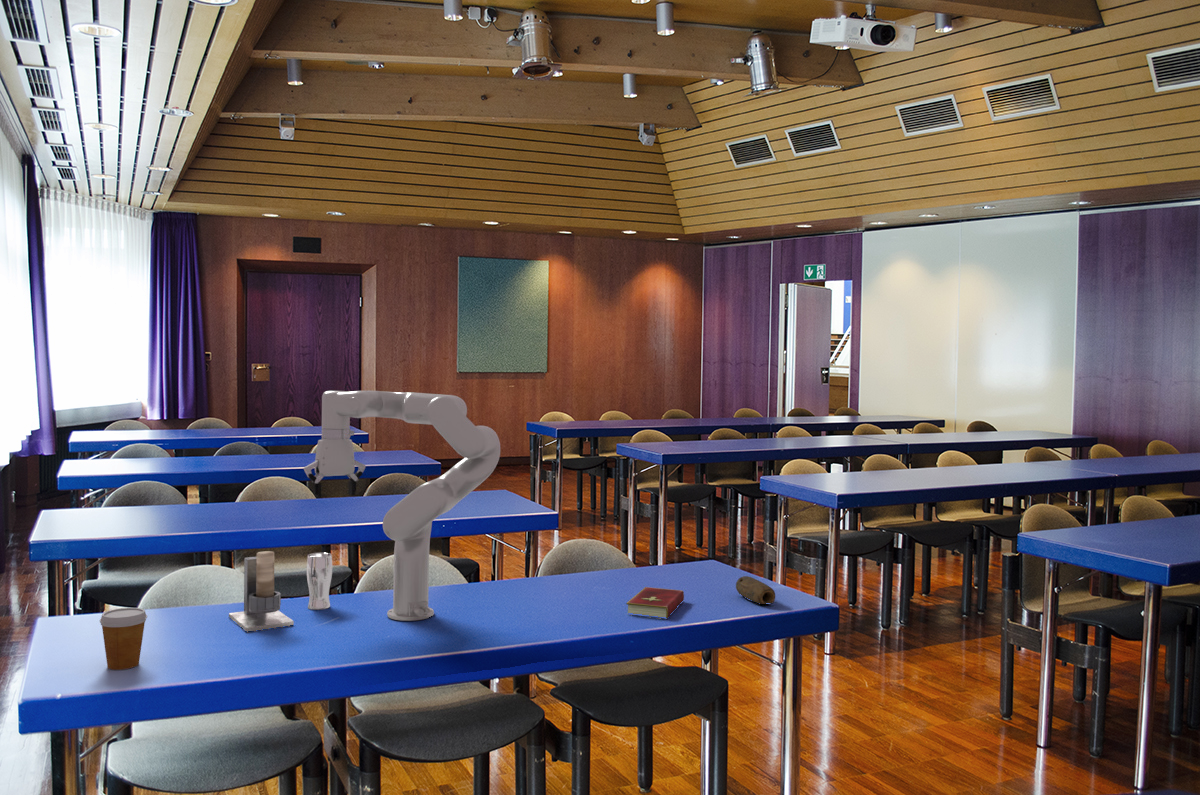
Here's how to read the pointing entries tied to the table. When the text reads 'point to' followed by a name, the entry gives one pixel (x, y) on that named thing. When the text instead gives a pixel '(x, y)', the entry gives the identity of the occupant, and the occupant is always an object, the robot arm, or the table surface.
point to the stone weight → (755, 590)
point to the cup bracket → (258, 604)
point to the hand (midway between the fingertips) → (334, 496)
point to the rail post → (265, 574)
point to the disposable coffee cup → (123, 636)
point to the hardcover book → (655, 602)
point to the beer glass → (319, 580)
